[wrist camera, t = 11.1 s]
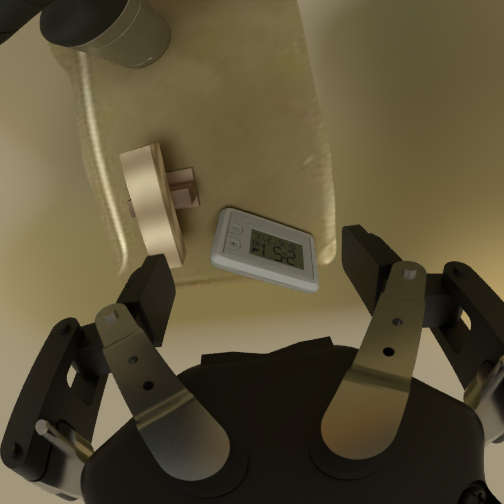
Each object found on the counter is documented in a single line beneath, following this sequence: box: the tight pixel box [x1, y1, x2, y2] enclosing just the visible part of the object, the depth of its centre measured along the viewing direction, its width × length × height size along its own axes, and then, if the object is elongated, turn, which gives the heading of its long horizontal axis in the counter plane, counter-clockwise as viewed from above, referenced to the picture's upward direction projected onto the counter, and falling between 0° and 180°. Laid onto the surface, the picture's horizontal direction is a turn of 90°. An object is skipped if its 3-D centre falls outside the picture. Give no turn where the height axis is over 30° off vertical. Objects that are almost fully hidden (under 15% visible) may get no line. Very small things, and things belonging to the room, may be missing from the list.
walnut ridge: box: [127, 167, 200, 217], centre depth 38 cm, size 6×9×6 cm, turn 98°
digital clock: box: [210, 208, 319, 293], centre depth 40 cm, size 16×9×11 cm, turn 58°
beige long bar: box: [119, 142, 187, 268], centre depth 33 cm, size 16×4×4 cm, turn 9°
